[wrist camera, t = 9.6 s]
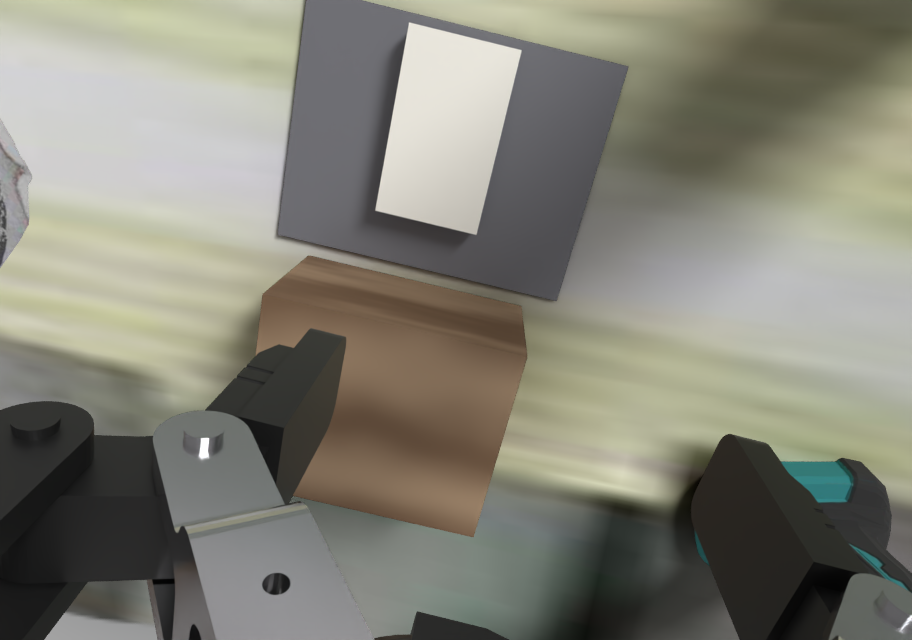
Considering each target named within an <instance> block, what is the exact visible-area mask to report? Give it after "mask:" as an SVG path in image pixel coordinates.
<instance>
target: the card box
mask: <svg viewBox="0 0 912 640" xmlns="http://www.w3.org/2000/svg"><path fill="white" fill-rule="evenodd" d="M521 51H522V50H519V49H515V48H511V47H507V46H503V45H499V44H495V43H490V42H486V41H482V40H478V39H474V38H470V37H466V36H462V35H458V34H454V33H450V32H446V31H442V30H438V29H434V28H430V27H426V26H422V25H418V24H414V23H410V22H409V26H408V31H407V37H406V42H405V48H404V54H403V59H402V65H401V70H400V76H399V81H398V87H397V92H396V98H395V104H394V109H393V115H392V120H391V126H390V131H389V137H388V142H387V148H386V154H385V159H384V165H383V170H382V176H381V181H380V187H379V193H378V198H377V204H376V209H375V211H379V212H383V213H387V214H392V215H396V216H400V217H404V218H408V219H412V220H416V221H421V222H425V223H429V224H433V225H437V226H441V227H446V228H450V229H454V230H458V231H462V232H466V233H470V234H475V235H477V231H478V226H479V222H480V218H481V214H482V210H483V206H484V202H485V198H486V194H487V190H488V186H489V182H490V178H491V174H492V169H493V165H494V161H495V157H496V153H497V149H498V145H499V141H500V137H501V133H502V129H503V125H504V121H505V116H506V112H507V108H508V104H509V100H510V96H511V92H512V88H513V84H514V80H515V76H516V72H517V68H518V63H519V59H520V55H521Z"/></svg>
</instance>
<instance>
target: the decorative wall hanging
mask: <svg viewBox="0 0 912 640" xmlns="http://www.w3.org/2000/svg"><path fill="white" fill-rule="evenodd" d="M31 180H32V174H31V172H30V171H29V169H28V167H27V165H26V163H25V161H24V160H23V159H22V157H21V156H20V154H19V152H18V150H17V148H16V146H15V143H14V142H13V139H12V138H11V136H10V134H9V133H8V131H7V129H6V128H5V126H4V124H3V123H2V121H1V119H0V268H1V266H2V265H3V263H4V262H5V261H6V259H7V258H8V256H9V255H10V254H11V252H12V251H13V249H14V248H15V247H16V245H17V244H18V242H19V241H20V239H21V237H22V235H23V233H24V232H25V230H26V228H27V226H28V224H29V201H28V184H29V183H30V181H31Z"/></svg>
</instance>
